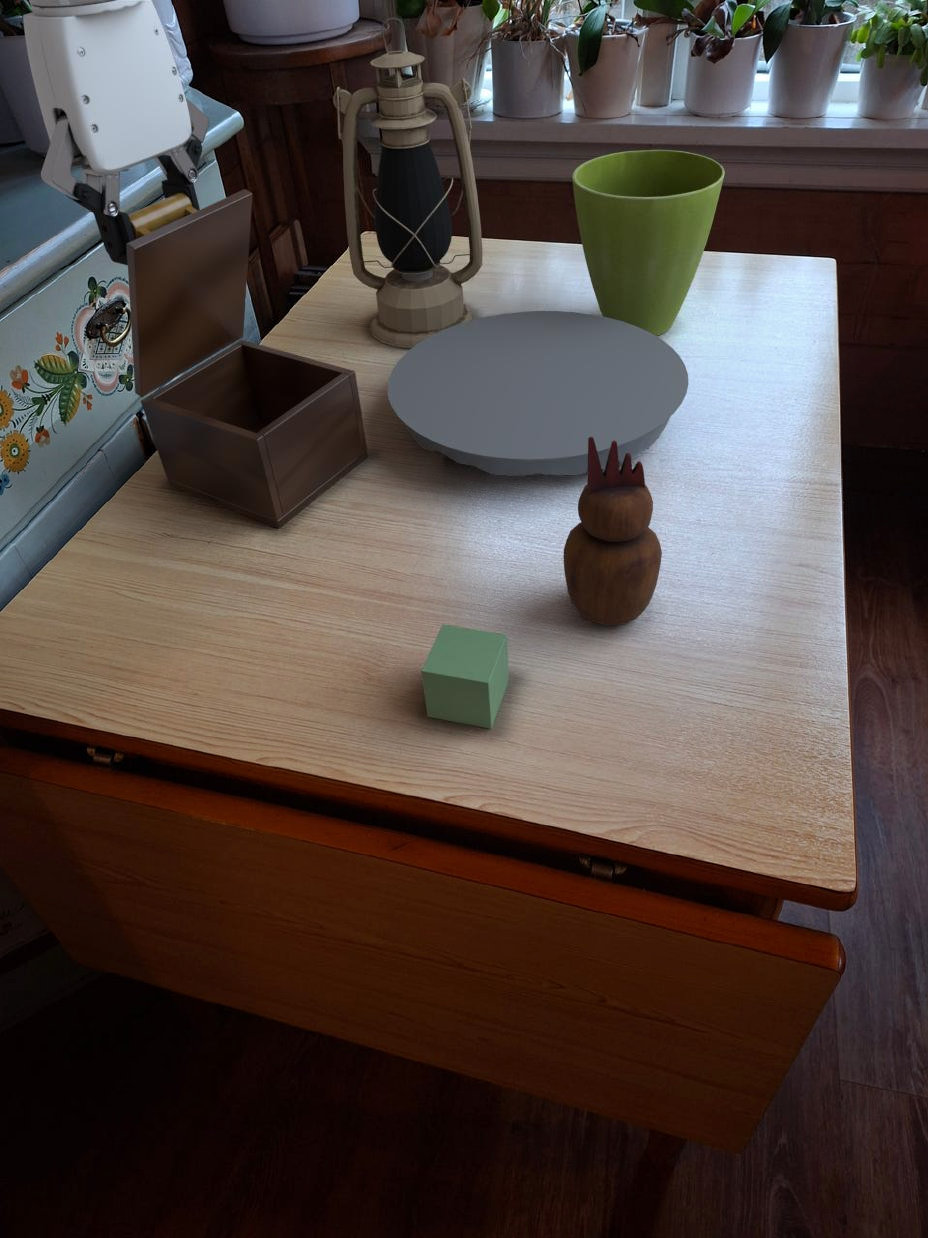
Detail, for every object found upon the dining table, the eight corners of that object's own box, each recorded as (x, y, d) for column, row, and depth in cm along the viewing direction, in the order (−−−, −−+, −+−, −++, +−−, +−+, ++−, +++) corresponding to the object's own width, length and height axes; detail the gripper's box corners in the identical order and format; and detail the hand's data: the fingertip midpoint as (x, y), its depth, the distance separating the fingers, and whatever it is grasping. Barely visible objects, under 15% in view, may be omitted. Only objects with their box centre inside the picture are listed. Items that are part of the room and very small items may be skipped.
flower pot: (547, 340, 100) (547, 187, 89) (601, 287, 109) (607, 143, 98) (678, 365, 94) (695, 205, 83) (723, 307, 103) (744, 156, 92)
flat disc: (345, 476, 83) (337, 434, 80) (451, 338, 102) (448, 300, 98) (651, 525, 75) (655, 480, 72) (705, 366, 93) (710, 325, 90)
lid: (252, 193, 73) (205, 162, 74) (134, 248, 66) (83, 213, 66) (243, 336, 84) (203, 309, 85) (141, 398, 77) (98, 366, 78)
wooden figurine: (555, 628, 66) (557, 453, 56) (572, 578, 70) (576, 406, 60) (648, 643, 65) (667, 465, 55) (660, 591, 69) (680, 416, 59)
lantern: (484, 298, 109) (469, -1, 88) (487, 343, 100) (473, 24, 80) (363, 306, 109) (321, 11, 89) (357, 352, 101) (308, 36, 80)
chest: (368, 456, 85) (355, 370, 79) (279, 528, 78) (256, 440, 72) (261, 421, 91) (241, 339, 85) (169, 485, 83) (139, 400, 77)
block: (427, 717, 61) (421, 670, 58) (447, 669, 64) (442, 623, 61) (491, 729, 60) (488, 683, 57) (509, 680, 63) (507, 634, 60)
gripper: (141, -42, 68) (203, 206, 80) (-63, 3, 58) (43, 279, 70) (212, -40, 65) (265, 219, 77) (8, 8, 55) (106, 297, 67)
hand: (158, 245), depth 74 cm, fingers closed on lid, 6 cm apart
